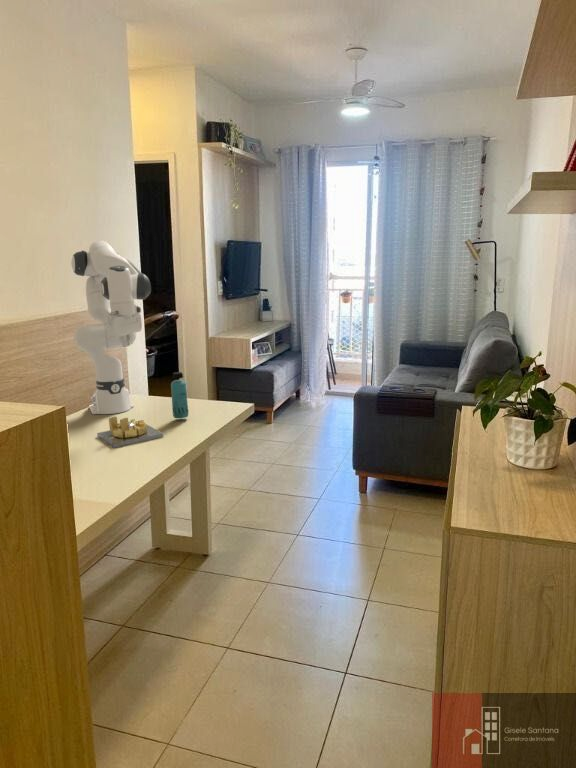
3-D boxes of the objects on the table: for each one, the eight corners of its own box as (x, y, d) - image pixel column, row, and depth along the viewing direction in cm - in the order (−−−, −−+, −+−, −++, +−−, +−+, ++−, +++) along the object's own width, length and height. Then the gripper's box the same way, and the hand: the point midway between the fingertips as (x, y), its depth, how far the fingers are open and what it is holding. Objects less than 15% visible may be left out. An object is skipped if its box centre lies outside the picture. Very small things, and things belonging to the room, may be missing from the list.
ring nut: (127, 426, 221) (125, 409, 220) (153, 429, 216) (151, 411, 214) (104, 436, 210) (102, 418, 208) (130, 439, 205) (129, 420, 203)
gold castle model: (97, 436, 215) (95, 424, 214) (144, 426, 226) (143, 414, 225) (113, 448, 201) (112, 434, 200) (163, 437, 212) (162, 424, 211)
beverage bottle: (170, 421, 232) (166, 373, 228) (178, 417, 238) (174, 370, 234) (184, 422, 230) (180, 374, 225) (192, 418, 236) (188, 371, 232)
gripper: (115, 312, 202) (119, 351, 205) (143, 307, 221) (146, 342, 224) (100, 313, 203) (104, 351, 206) (128, 307, 223) (132, 342, 226)
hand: (126, 346), depth 215 cm, fingers closed
